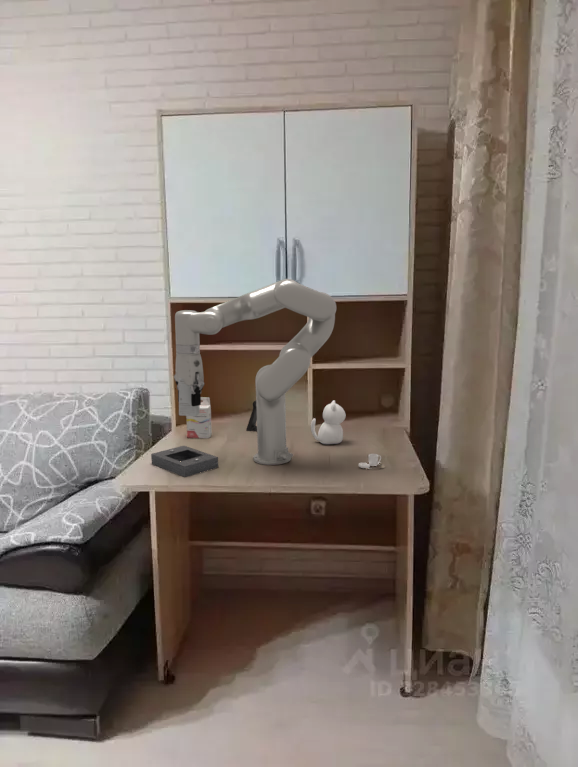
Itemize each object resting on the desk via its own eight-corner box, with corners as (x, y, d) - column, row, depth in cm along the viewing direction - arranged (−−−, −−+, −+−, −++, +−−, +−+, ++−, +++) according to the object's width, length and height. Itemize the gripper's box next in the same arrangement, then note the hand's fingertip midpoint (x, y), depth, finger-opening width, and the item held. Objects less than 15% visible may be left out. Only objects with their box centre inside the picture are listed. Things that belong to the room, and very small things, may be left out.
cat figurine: (346, 446, 239) (346, 404, 236) (310, 446, 240) (310, 405, 237) (345, 439, 248) (345, 399, 245) (311, 439, 249) (310, 399, 246)
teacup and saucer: (358, 471, 214) (358, 459, 213) (357, 463, 221) (357, 451, 221) (386, 471, 213) (386, 458, 212) (384, 463, 221) (384, 451, 220)
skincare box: (178, 415, 220) (177, 379, 217) (182, 412, 224) (181, 376, 222) (197, 416, 219) (196, 379, 216) (200, 413, 223) (199, 377, 221)
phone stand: (246, 430, 262) (245, 400, 260) (251, 426, 268) (250, 397, 265) (268, 432, 260) (267, 401, 257) (273, 428, 265) (272, 398, 263)
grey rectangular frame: (218, 467, 219) (217, 456, 218) (184, 477, 210) (184, 465, 209) (184, 455, 233) (184, 444, 232) (151, 464, 224) (151, 452, 223)
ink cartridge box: (186, 438, 253) (184, 399, 250) (190, 434, 258) (188, 396, 255) (209, 438, 253) (207, 399, 250) (212, 434, 257) (210, 396, 254)
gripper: (213, 351, 213) (214, 406, 217) (183, 345, 226) (184, 397, 229) (193, 353, 208) (194, 410, 212) (163, 347, 221) (165, 400, 225)
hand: (189, 403), depth 221 cm, fingers closed on skincare box, 7 cm apart
